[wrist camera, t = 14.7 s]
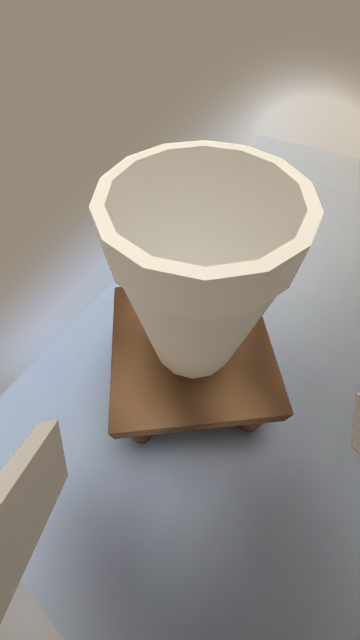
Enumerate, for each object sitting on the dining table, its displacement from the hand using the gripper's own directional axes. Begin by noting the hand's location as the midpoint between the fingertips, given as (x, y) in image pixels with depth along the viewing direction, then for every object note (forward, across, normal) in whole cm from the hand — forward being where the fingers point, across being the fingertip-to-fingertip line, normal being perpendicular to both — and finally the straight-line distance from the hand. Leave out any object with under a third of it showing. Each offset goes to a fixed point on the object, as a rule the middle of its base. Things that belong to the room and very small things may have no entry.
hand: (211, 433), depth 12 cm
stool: (+16, 0, -5) cm, 17 cm away
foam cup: (+11, 0, +1) cm, 11 cm away
